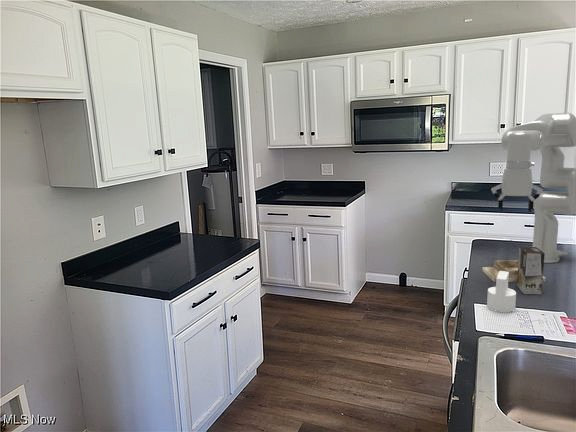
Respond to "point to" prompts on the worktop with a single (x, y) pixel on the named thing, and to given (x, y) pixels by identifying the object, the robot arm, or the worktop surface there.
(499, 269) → the holder
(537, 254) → the coffee box
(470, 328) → the worktop surface
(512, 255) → the worktop surface
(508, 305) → the cylinder with rectangular tab
